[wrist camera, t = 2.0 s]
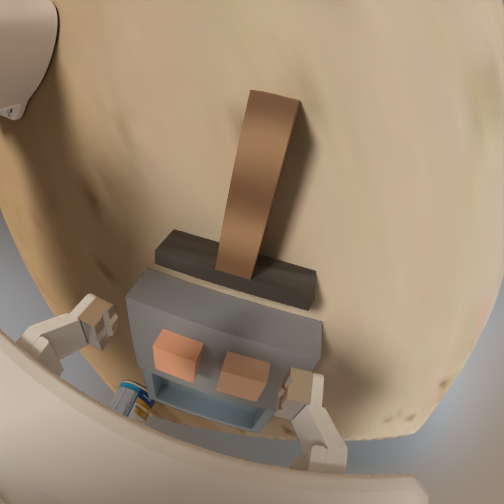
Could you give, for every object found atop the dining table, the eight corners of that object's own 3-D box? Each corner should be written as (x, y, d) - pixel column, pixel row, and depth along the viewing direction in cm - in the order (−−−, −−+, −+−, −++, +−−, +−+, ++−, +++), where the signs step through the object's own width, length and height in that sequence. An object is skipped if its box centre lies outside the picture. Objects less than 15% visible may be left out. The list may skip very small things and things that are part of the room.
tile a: (163, 352, 29) (155, 368, 27) (162, 328, 27) (152, 346, 25) (200, 365, 29) (193, 383, 27) (203, 343, 26) (195, 362, 24)
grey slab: (152, 341, 37) (137, 367, 33) (147, 268, 30) (125, 296, 25) (284, 383, 36) (279, 412, 32) (321, 321, 29) (320, 358, 24)
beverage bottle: (125, 374, 47) (83, 454, 30) (161, 396, 48) (125, 477, 32) (118, 384, 51) (82, 454, 35) (150, 404, 53) (118, 475, 36)
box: (157, 380, 45) (149, 398, 41) (152, 341, 37) (140, 361, 34) (262, 414, 44) (258, 433, 40) (284, 383, 36) (280, 406, 33)
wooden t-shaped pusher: (193, 80, 18) (170, 79, 15) (370, 124, 18) (383, 130, 14) (173, 241, 27) (155, 263, 24) (310, 282, 26) (308, 310, 23)
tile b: (221, 372, 29) (215, 390, 27) (227, 350, 26) (220, 370, 24) (260, 383, 29) (256, 401, 27) (270, 363, 26) (266, 383, 24)
